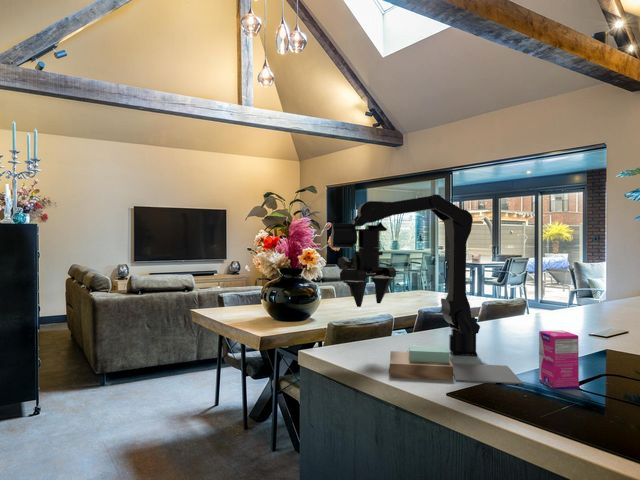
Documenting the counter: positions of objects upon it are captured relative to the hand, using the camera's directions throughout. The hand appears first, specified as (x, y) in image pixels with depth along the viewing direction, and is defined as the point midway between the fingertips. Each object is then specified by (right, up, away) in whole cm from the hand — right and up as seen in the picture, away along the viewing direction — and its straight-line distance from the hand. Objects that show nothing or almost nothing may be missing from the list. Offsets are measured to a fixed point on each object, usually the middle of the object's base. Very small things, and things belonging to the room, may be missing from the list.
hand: (369, 305), depth 125 cm
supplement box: (+38, -14, -26) cm, 48 cm away
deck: (+10, -14, -15) cm, 23 cm away
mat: (+25, -14, -18) cm, 33 cm away
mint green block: (+12, -9, -16) cm, 22 cm away
